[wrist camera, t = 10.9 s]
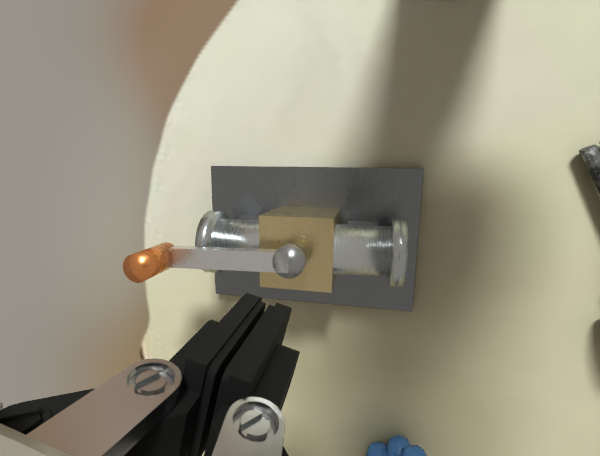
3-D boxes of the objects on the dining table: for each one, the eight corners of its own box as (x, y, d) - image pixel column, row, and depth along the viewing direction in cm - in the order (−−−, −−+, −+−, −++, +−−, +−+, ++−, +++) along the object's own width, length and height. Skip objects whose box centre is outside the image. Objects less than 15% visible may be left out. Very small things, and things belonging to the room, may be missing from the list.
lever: (307, 243, 29) (295, 258, 24) (307, 273, 29) (296, 294, 24) (158, 238, 32) (121, 251, 27) (161, 266, 32) (125, 284, 27)
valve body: (215, 166, 40) (167, 165, 30) (421, 168, 35) (442, 168, 26) (219, 289, 43) (177, 325, 33) (410, 307, 38) (425, 353, 29)
